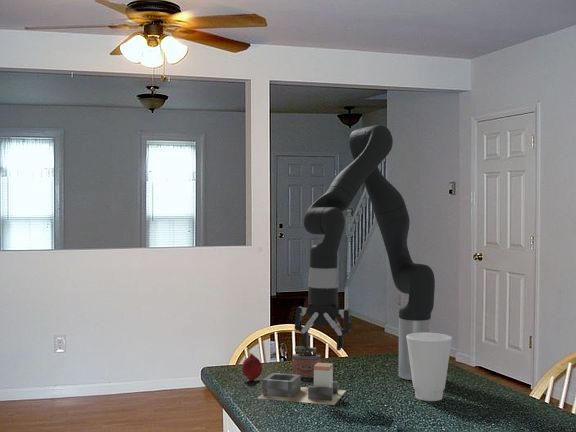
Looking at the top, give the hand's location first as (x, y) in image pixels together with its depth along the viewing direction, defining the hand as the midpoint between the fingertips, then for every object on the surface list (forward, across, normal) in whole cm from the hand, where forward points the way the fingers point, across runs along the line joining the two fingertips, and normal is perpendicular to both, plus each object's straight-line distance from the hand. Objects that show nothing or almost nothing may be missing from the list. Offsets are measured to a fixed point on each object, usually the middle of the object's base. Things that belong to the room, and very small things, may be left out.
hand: (322, 348), depth 181 cm
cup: (+14, -26, -12) cm, 32 cm away
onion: (+14, +24, -15) cm, 32 cm away
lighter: (+14, +9, -19) cm, 25 cm away
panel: (+14, +5, 0) cm, 15 cm away
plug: (+12, 0, 0) cm, 12 cm away
